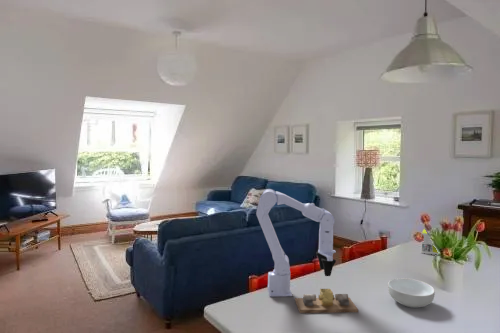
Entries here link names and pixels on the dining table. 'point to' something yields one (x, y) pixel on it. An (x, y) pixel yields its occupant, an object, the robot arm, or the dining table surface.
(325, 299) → the block
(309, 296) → the shaft stand
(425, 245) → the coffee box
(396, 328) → the dining table surface
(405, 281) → the cereal bowl
